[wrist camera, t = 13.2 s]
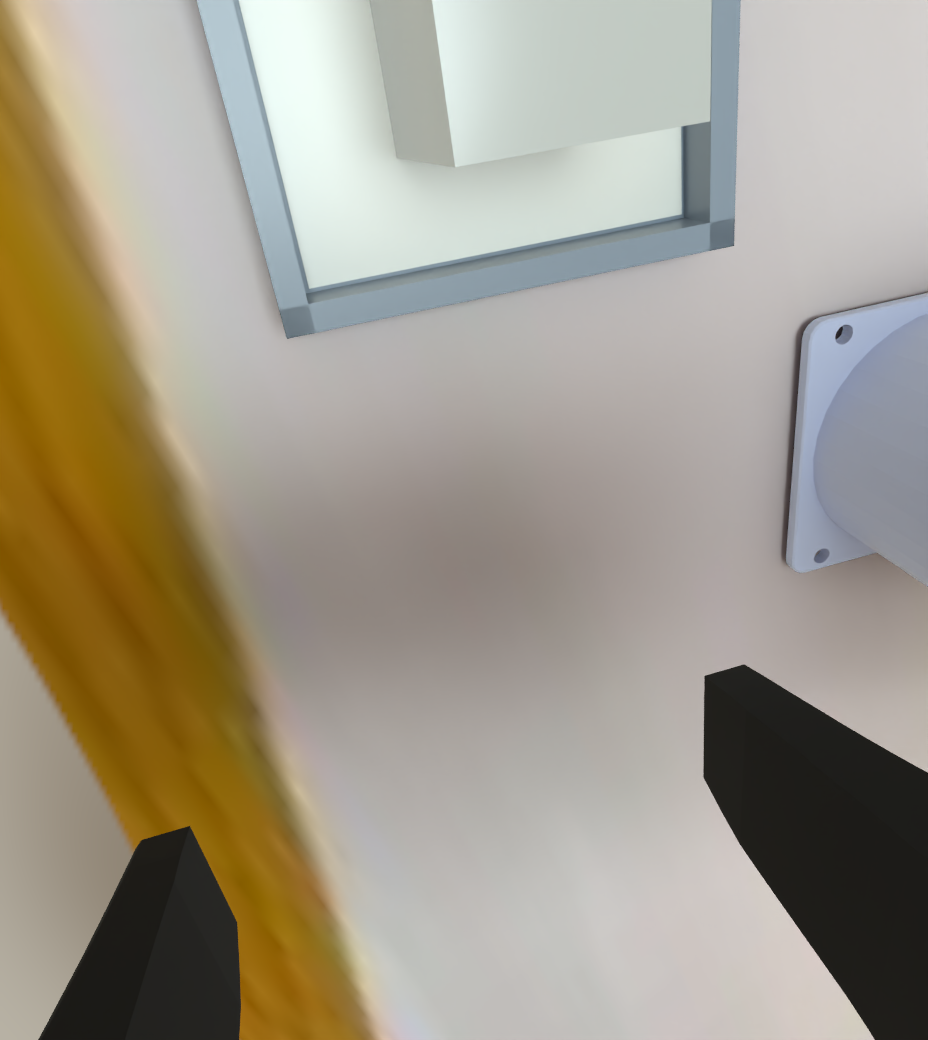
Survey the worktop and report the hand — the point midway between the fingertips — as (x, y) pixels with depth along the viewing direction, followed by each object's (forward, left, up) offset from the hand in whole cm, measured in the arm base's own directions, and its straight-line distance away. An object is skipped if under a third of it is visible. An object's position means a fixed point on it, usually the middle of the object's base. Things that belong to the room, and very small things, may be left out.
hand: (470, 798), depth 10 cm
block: (-4, -10, -10) cm, 14 cm away
